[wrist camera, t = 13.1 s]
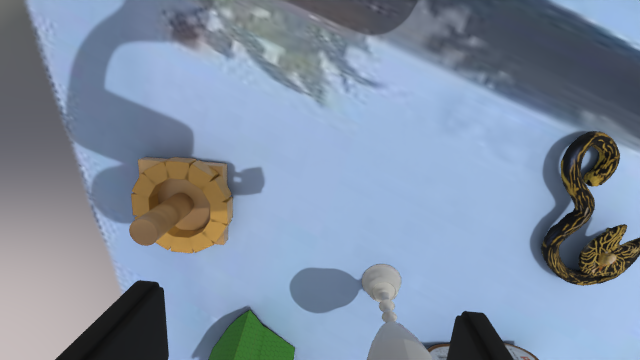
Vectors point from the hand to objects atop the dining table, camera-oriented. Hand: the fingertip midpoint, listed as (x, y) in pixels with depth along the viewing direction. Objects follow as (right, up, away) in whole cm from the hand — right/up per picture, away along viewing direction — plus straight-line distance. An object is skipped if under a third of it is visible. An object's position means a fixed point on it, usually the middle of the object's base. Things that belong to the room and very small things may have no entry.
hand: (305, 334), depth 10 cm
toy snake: (+31, +2, +27) cm, 42 cm away
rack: (-16, +3, +30) cm, 34 cm away
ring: (-15, +2, +28) cm, 32 cm away
